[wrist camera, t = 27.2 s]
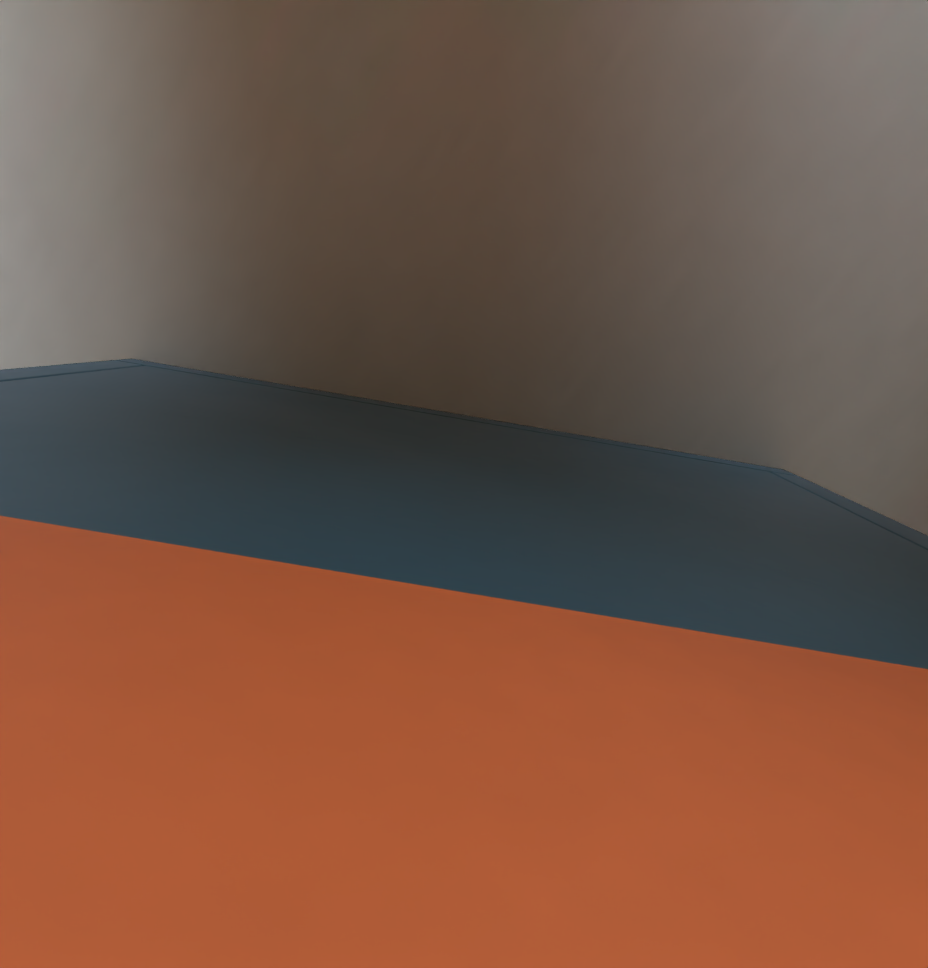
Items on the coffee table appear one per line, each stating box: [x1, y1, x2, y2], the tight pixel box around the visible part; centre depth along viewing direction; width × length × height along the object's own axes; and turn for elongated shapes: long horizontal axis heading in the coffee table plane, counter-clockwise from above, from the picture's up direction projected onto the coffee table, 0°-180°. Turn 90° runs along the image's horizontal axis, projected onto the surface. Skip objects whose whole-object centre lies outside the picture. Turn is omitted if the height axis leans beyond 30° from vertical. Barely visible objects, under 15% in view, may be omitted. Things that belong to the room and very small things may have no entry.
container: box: [0, 359, 928, 669], centre depth 13 cm, size 15×18×12 cm
